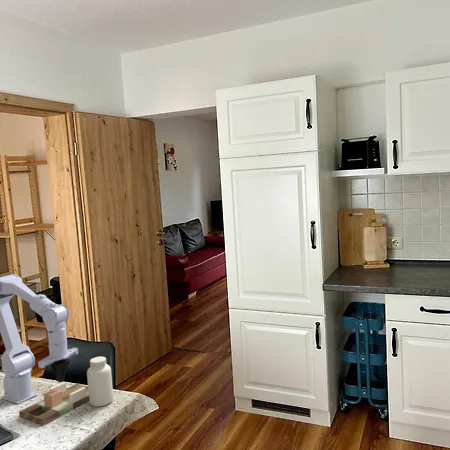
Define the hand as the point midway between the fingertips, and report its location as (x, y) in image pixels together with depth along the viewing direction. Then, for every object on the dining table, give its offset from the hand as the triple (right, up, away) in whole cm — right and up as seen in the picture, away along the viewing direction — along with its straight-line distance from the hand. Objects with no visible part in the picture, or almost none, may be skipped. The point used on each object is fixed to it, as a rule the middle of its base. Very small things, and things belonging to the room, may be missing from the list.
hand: (60, 381), depth 150 cm
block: (-1, -7, -3) cm, 7 cm away
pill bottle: (+14, -8, +2) cm, 16 cm away
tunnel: (+2, -6, +2) cm, 7 cm away
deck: (0, -8, 0) cm, 8 cm away
